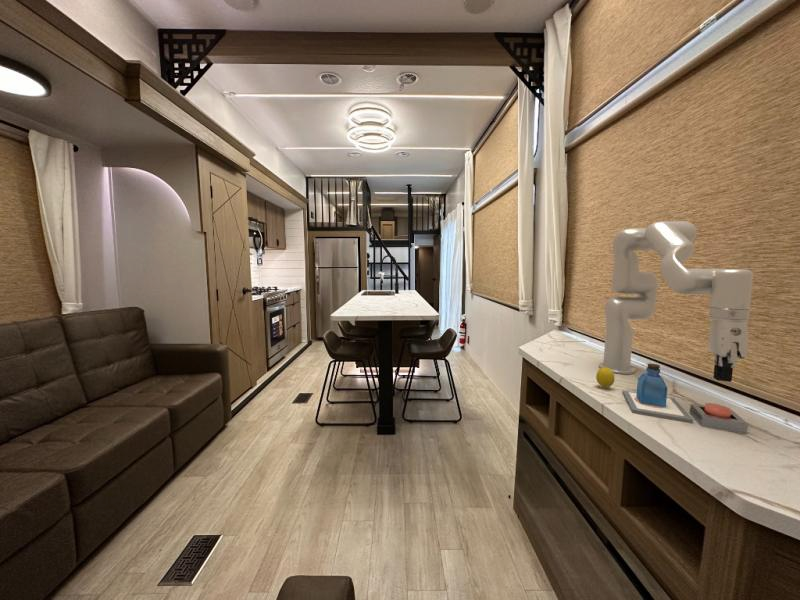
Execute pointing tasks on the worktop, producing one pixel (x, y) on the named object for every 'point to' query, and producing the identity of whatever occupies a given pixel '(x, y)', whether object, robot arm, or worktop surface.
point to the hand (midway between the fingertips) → (722, 379)
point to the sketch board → (657, 408)
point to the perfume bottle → (652, 387)
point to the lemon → (605, 377)
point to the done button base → (718, 420)
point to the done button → (717, 410)
